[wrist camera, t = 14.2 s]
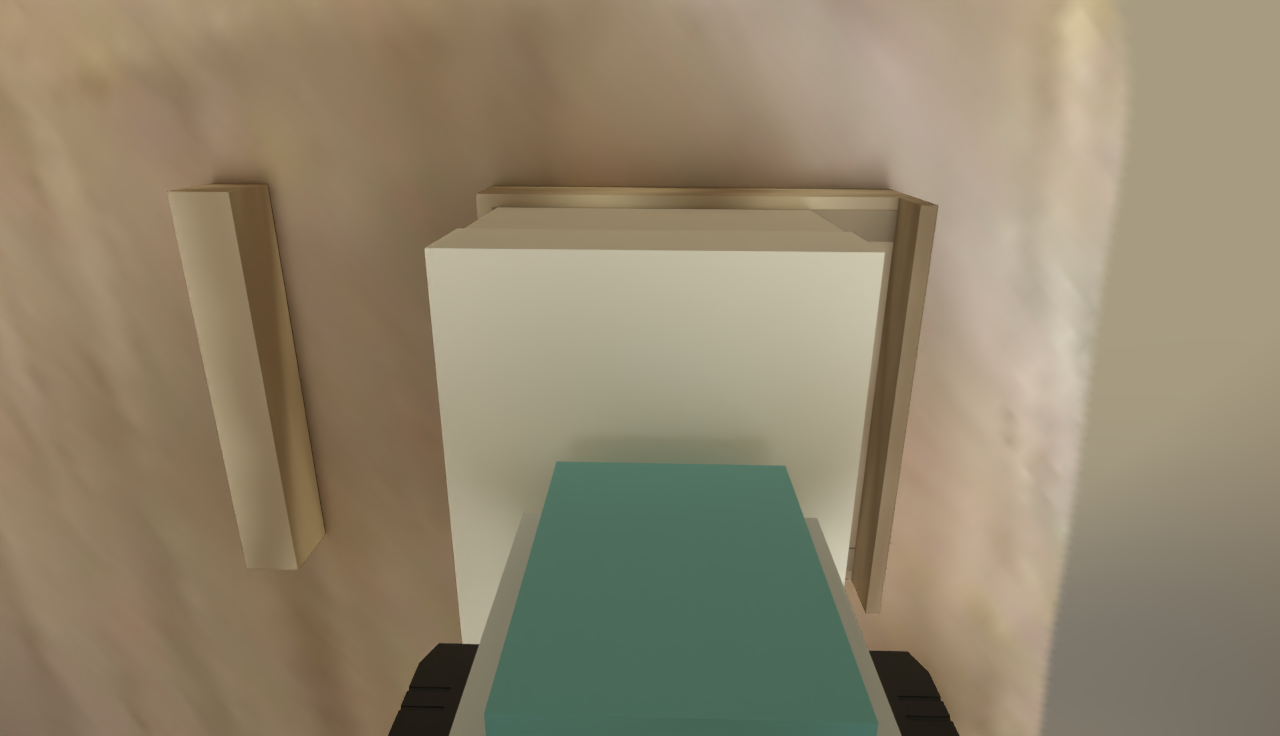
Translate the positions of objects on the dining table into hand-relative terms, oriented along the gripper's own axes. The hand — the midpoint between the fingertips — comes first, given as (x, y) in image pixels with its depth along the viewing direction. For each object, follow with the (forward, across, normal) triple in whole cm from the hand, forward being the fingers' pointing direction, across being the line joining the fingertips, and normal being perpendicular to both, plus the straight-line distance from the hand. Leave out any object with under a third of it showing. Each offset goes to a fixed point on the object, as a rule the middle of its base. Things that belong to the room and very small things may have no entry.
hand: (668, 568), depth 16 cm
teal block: (0, 0, 0) cm, 0 cm away
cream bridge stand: (+10, 0, 0) cm, 10 cm away
